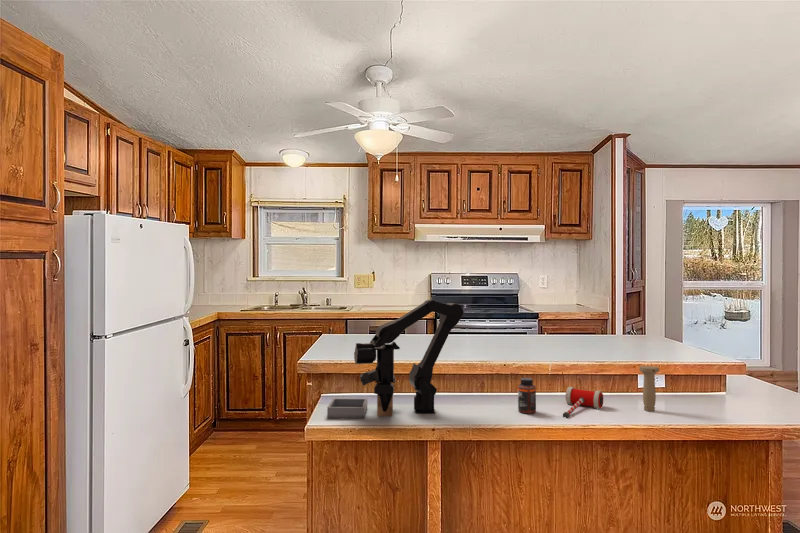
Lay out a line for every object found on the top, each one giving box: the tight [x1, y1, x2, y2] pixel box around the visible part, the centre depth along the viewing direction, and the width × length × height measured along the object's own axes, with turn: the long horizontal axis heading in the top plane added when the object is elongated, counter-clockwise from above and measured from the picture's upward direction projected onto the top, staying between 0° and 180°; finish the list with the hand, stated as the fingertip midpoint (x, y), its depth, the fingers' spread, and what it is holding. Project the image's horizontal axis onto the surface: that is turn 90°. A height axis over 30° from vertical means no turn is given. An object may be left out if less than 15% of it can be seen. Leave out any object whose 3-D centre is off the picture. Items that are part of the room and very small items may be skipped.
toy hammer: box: [562, 386, 604, 419], centre depth 172 cm, size 23×12×6 cm, turn 142°
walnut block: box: [376, 394, 394, 417], centre depth 167 cm, size 5×5×7 cm
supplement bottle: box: [517, 377, 537, 415], centre depth 170 cm, size 6×6×11 cm
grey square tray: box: [326, 397, 368, 420], centre depth 167 cm, size 12×12×4 cm
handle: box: [638, 365, 660, 412], centre depth 172 cm, size 5×6×15 cm
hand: (385, 409), depth 167 cm, fingers closed on walnut block, 5 cm apart
